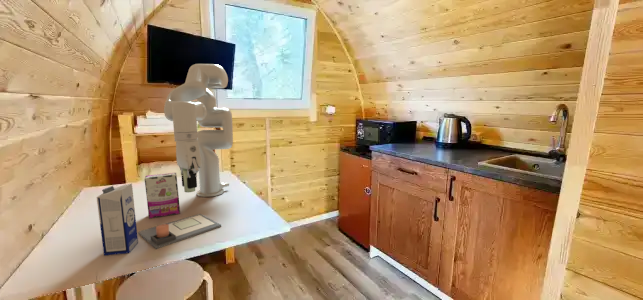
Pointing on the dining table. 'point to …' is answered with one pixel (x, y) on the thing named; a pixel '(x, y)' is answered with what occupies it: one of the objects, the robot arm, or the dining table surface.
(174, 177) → the candy bar box
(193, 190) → the green cylinder
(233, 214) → the dining table surface
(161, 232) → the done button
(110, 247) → the milk carton
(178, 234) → the drawing board
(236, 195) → the dining table surface
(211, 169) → the robot arm
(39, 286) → the dining table surface
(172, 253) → the dining table surface
